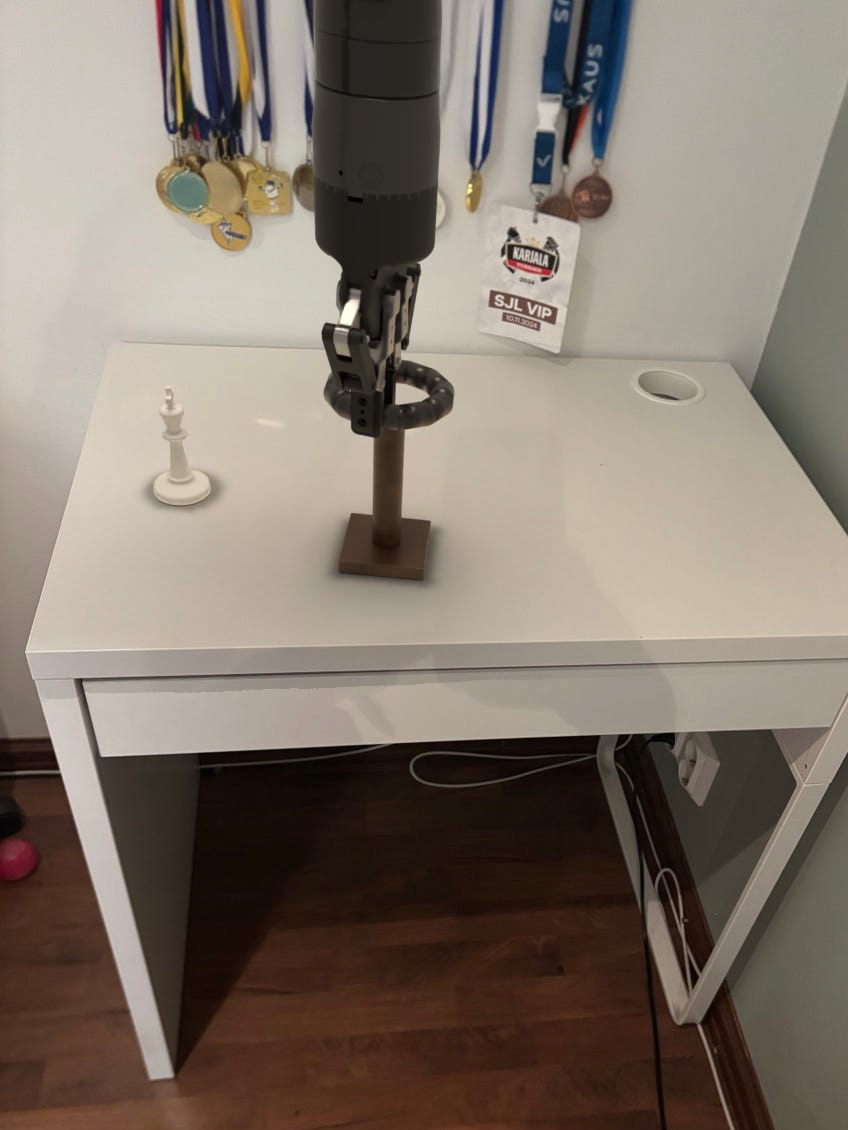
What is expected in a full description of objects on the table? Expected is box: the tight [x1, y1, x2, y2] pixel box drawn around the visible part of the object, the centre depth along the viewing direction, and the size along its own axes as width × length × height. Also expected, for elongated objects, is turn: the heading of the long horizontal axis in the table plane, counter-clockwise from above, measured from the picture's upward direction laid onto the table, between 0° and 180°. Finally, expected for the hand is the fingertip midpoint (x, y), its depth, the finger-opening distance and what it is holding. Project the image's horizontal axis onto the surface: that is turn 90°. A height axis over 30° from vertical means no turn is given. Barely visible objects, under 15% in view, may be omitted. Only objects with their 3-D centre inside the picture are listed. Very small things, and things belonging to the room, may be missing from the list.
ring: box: [322, 359, 455, 431], centre depth 71 cm, size 10×10×2 cm
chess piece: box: [153, 385, 212, 506], centre depth 82 cm, size 5×5×10 cm
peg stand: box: [338, 429, 432, 581], centre depth 77 cm, size 7×7×13 cm
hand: (373, 424), depth 69 cm, fingers closed on ring, 2 cm apart
